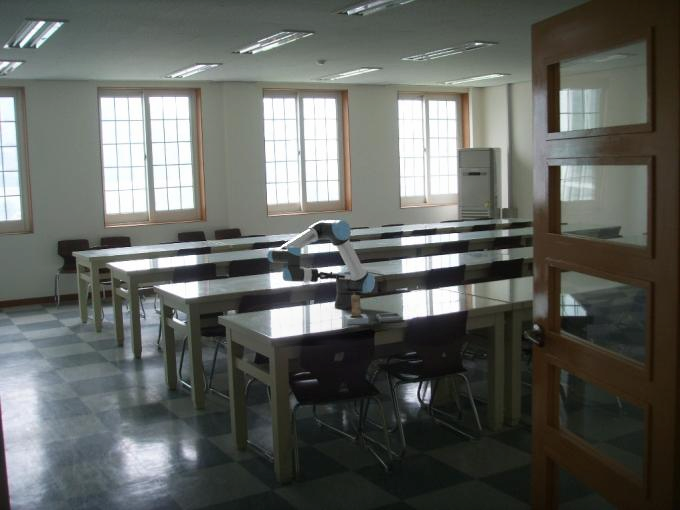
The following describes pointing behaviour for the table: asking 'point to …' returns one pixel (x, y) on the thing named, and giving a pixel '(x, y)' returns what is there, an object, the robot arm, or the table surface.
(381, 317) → the tray
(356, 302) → the dowel
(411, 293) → the table surface
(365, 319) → the socket block
